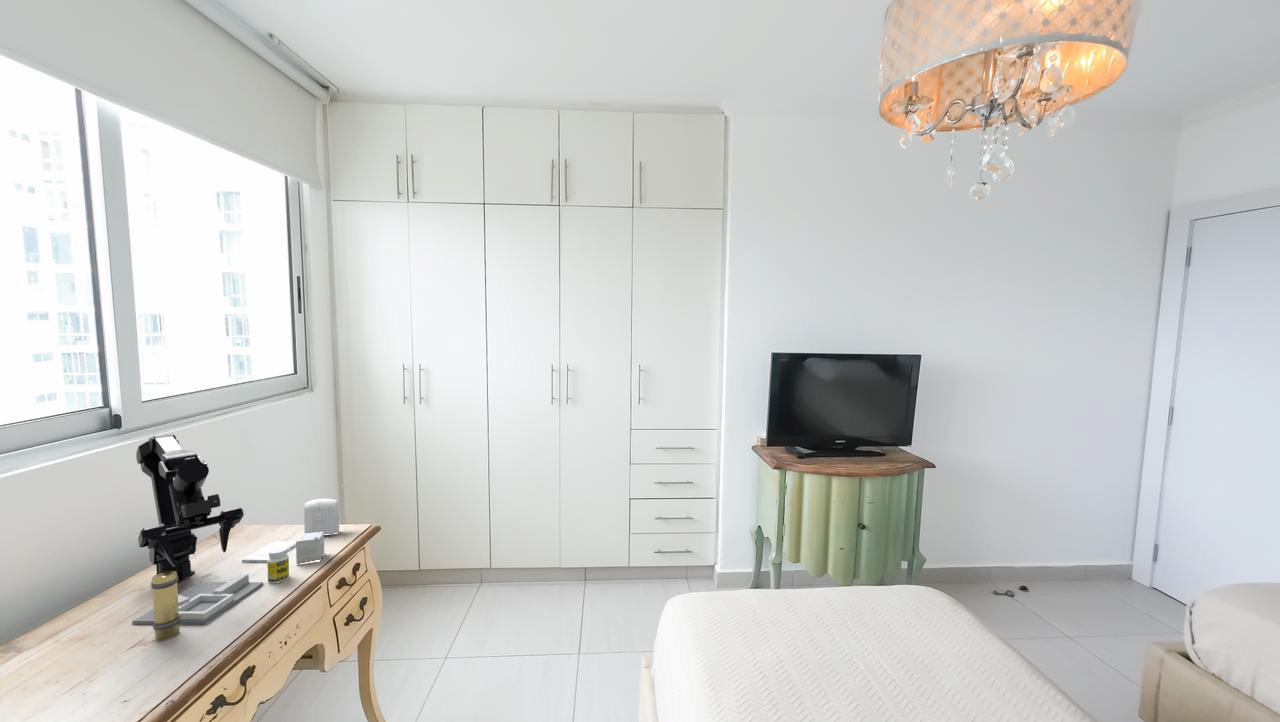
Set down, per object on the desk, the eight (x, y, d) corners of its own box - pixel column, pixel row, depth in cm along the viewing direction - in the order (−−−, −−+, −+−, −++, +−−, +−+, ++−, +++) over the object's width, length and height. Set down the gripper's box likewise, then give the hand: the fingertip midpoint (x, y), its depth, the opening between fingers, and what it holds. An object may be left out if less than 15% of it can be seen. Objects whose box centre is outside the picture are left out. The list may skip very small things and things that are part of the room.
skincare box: (301, 557, 150) (300, 533, 149) (324, 553, 152) (324, 530, 152) (296, 565, 144) (295, 541, 144) (320, 562, 147) (319, 538, 146)
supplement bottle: (277, 584, 133) (276, 554, 133) (263, 583, 134) (262, 553, 134) (293, 576, 138) (292, 547, 138) (279, 574, 139) (278, 545, 139)
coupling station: (132, 624, 115) (131, 611, 115) (200, 584, 133) (199, 574, 133) (205, 624, 115) (204, 612, 115) (263, 585, 133) (262, 574, 133)
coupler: (148, 641, 109) (144, 580, 108) (167, 629, 113) (164, 570, 113) (168, 641, 109) (164, 580, 108) (186, 629, 113) (183, 570, 113)
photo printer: (341, 531, 169) (340, 495, 169) (336, 536, 165) (335, 500, 164) (308, 533, 167) (306, 497, 166) (302, 538, 163) (301, 502, 162)
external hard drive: (298, 546, 158) (269, 564, 146) (273, 546, 158) (241, 564, 146) (298, 541, 158) (268, 559, 146) (273, 541, 158) (241, 559, 146)
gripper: (139, 496, 111) (151, 561, 107) (241, 476, 127) (256, 533, 122) (133, 515, 117) (144, 578, 112) (231, 495, 132) (245, 549, 127)
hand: (200, 558), depth 118 cm, fingers open, 9 cm apart
